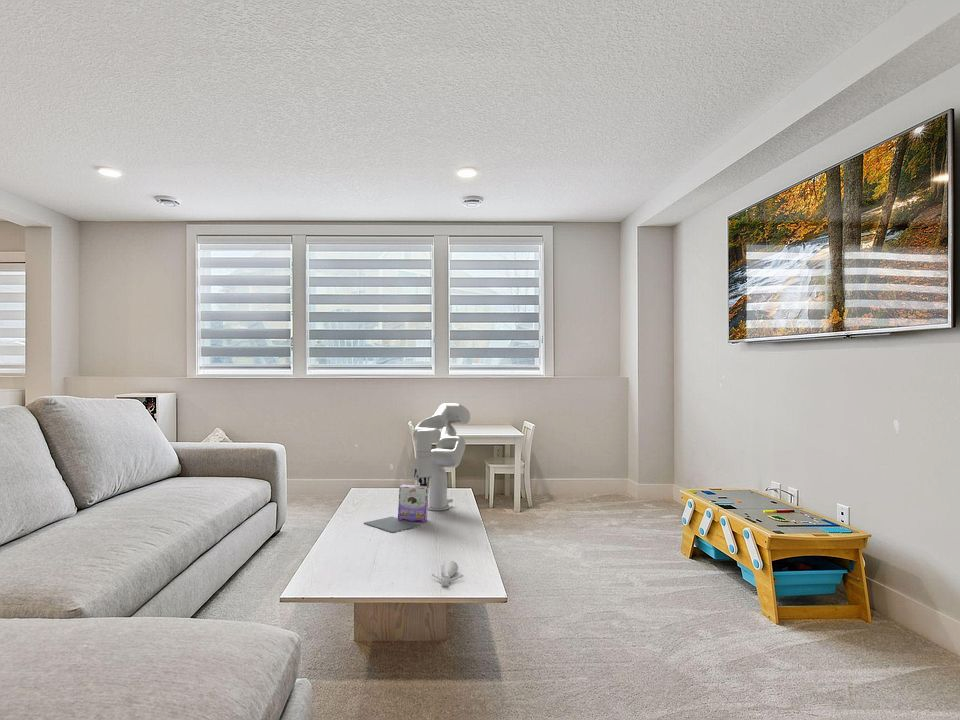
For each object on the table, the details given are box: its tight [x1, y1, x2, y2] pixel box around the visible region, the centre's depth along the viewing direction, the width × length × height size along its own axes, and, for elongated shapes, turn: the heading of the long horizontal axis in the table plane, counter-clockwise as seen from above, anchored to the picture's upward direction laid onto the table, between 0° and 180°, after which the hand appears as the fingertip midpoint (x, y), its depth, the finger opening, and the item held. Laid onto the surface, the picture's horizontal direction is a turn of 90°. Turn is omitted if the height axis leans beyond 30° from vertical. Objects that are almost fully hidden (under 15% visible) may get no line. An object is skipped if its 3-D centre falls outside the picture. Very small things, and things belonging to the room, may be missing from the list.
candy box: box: [397, 483, 429, 522], centre depth 288 cm, size 14×6×16 cm, turn 84°
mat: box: [363, 516, 422, 534], centre depth 279 cm, size 17×22×1 cm
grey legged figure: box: [431, 560, 465, 587], centre depth 210 cm, size 12×4×18 cm
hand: (423, 491), depth 293 cm, fingers closed
